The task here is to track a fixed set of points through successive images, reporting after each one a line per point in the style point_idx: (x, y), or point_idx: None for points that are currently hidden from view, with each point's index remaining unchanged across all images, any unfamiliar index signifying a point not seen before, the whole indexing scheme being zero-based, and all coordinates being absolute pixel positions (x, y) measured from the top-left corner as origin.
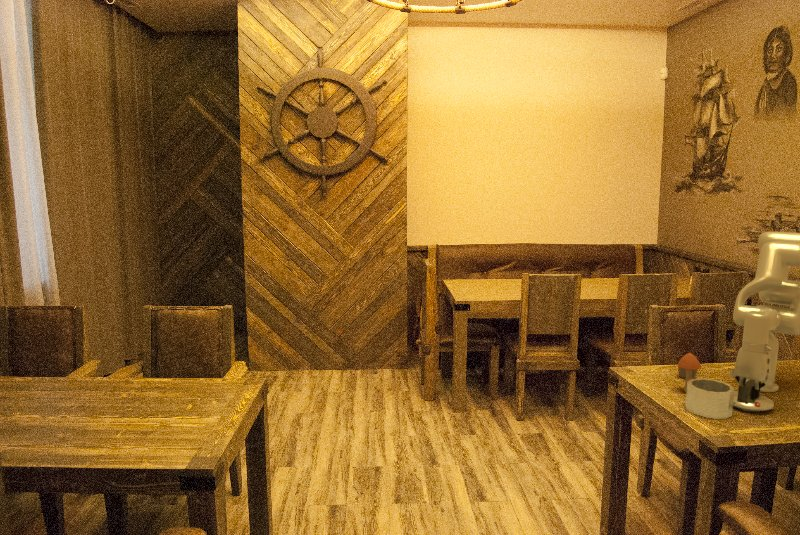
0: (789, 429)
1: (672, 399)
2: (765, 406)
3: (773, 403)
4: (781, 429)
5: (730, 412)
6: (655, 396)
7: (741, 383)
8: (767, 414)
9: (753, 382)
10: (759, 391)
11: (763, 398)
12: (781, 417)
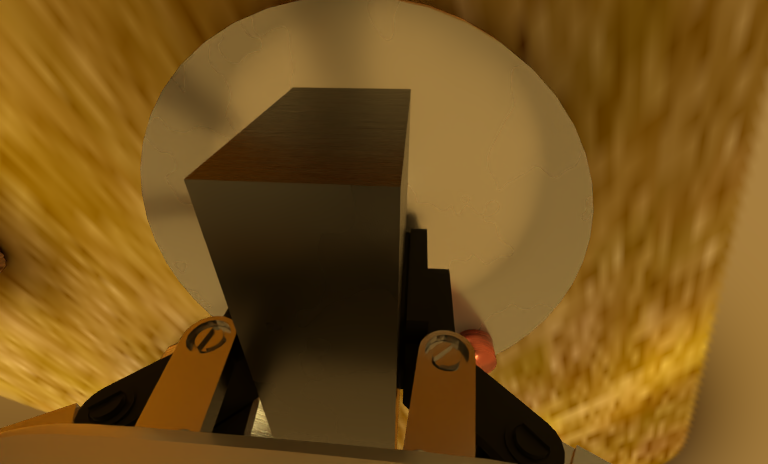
0: (676, 381)
1: (89, 386)
2: (528, 314)
3: (589, 200)
4: (630, 400)
5: None
6: (34, 398)
7: (242, 403)
8: None
9: (328, 338)
10: (452, 317)
11: (466, 124)
12: (636, 250)
